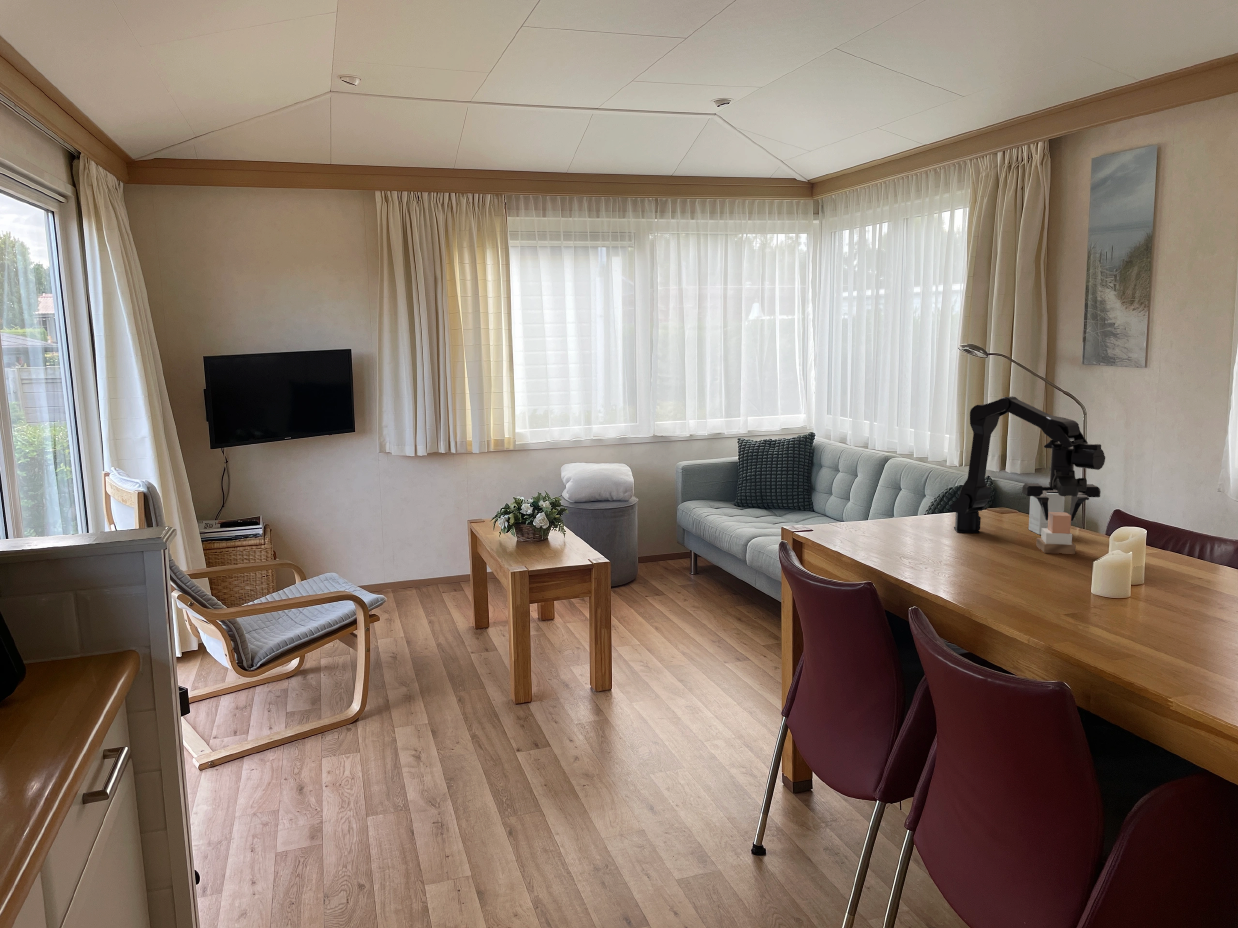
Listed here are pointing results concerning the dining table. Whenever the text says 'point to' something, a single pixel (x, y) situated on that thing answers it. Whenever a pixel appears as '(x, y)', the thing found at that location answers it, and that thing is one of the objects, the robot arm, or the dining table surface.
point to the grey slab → (1056, 537)
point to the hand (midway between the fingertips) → (1059, 520)
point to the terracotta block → (1059, 522)
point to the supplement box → (1036, 512)
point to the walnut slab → (1055, 547)
